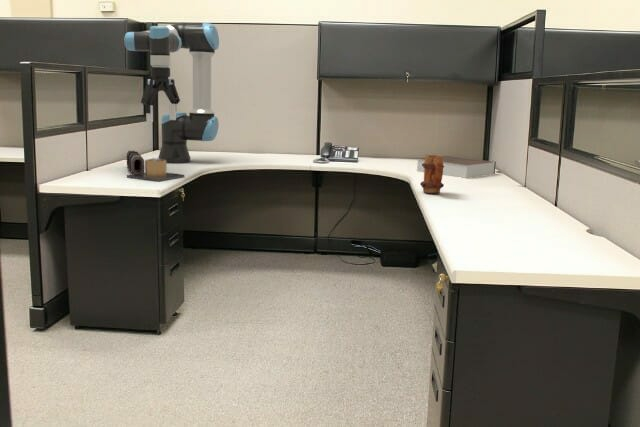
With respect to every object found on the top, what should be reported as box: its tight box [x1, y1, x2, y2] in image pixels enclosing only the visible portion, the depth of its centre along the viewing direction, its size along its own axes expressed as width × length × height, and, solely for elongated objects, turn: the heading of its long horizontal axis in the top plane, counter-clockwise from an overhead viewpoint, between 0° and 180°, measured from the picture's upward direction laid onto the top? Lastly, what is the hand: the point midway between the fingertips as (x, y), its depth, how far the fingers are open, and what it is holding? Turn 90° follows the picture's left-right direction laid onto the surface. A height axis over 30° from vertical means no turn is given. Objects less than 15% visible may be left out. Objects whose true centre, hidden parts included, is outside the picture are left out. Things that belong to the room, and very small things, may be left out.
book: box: [416, 155, 497, 179], centre depth 308 cm, size 24×28×6 cm
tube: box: [126, 150, 145, 174], centre depth 279 cm, size 11×7×30 cm
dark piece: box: [126, 157, 186, 183], centre depth 262 cm, size 16×16×8 cm
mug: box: [420, 154, 445, 194], centre depth 244 cm, size 15×8×15 cm, turn 5°
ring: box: [144, 158, 167, 177], centre depth 262 cm, size 8×8×6 cm
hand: (161, 120), depth 262 cm, fingers open, 13 cm apart
